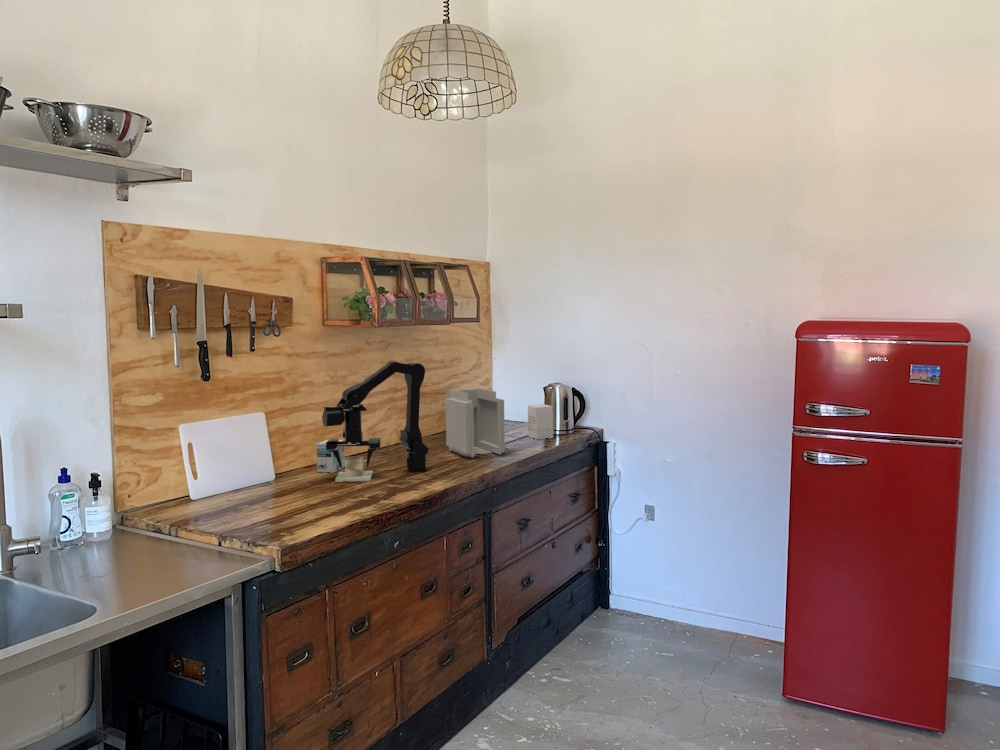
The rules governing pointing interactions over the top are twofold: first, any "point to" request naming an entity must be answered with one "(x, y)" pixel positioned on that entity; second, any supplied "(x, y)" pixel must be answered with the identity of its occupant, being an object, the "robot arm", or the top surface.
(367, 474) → the sage board
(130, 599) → the top surface
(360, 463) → the birch cube
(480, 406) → the gray open cabinet
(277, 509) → the top surface
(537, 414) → the supplement box
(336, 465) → the light bulb box
